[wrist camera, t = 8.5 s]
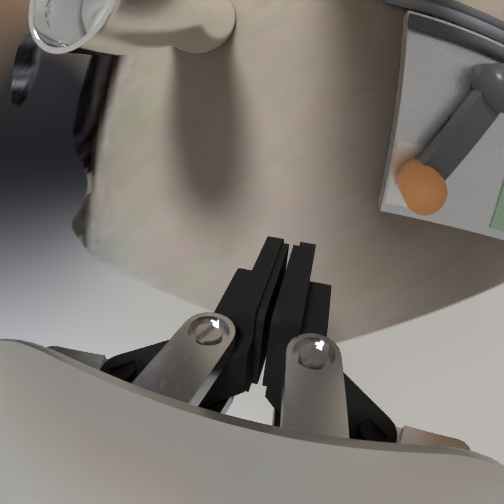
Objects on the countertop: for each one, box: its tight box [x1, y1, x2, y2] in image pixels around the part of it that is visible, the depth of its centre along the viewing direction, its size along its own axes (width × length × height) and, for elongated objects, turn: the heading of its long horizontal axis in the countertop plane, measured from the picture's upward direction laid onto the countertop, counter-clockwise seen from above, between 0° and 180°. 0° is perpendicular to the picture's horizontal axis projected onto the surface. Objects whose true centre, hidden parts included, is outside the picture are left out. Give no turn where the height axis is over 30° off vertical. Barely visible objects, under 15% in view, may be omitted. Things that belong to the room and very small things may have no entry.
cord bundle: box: [385, 0, 504, 62], centre depth 14 cm, size 4×17×3 cm, turn 87°
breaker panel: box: [378, 10, 504, 240], centre depth 19 cm, size 16×14×2 cm
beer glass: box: [29, 0, 235, 55], centre depth 14 cm, size 7×7×15 cm
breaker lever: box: [396, 63, 504, 215], centre depth 17 cm, size 13×4×3 cm, turn 148°
